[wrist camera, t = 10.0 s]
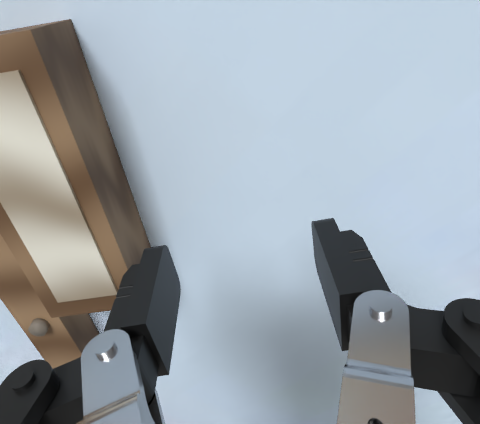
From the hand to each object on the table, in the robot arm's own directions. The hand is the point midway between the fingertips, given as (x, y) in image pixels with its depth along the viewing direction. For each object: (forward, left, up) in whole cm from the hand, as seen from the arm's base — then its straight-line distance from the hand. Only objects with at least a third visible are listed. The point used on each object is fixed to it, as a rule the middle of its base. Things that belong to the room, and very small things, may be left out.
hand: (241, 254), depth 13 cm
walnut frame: (0, +10, -12) cm, 16 cm away
